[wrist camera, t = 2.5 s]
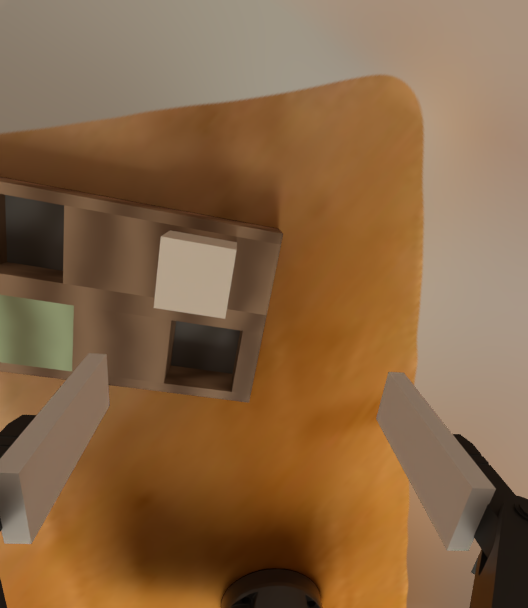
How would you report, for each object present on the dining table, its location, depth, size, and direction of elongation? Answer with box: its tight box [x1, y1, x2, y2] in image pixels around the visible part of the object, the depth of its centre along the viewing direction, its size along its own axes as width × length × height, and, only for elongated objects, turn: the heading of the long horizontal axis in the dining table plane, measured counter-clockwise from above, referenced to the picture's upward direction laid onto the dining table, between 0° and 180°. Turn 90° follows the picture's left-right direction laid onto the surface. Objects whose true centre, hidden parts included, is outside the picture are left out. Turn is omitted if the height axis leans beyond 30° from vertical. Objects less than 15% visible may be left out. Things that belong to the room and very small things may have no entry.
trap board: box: [0, 177, 283, 402], centre depth 35 cm, size 28×18×4 cm, turn 79°
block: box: [154, 230, 237, 319], centre depth 31 cm, size 6×6×4 cm
